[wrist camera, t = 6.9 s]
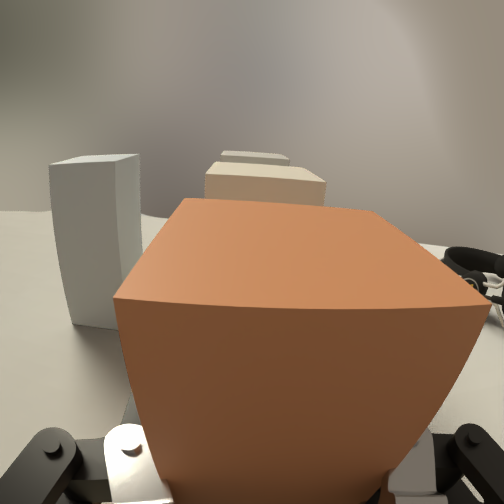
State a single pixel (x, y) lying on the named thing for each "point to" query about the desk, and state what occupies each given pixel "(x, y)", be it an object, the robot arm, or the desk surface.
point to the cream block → (264, 184)
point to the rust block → (288, 349)
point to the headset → (477, 271)
